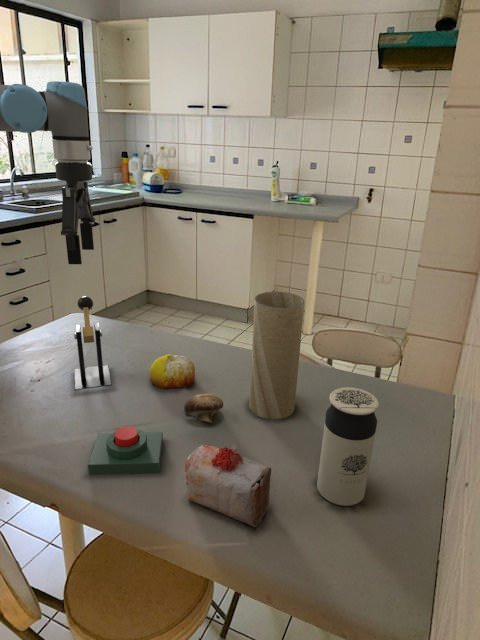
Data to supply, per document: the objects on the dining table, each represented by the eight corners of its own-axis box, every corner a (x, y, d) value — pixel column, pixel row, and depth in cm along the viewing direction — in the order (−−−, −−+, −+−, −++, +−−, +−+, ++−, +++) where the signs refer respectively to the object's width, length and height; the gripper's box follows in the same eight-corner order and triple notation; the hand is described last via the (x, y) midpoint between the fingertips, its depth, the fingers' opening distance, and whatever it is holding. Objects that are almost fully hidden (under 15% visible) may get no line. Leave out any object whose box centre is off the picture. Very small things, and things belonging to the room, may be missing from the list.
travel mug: (315, 471, 83) (326, 384, 76) (360, 476, 82) (375, 388, 75) (318, 504, 76) (330, 411, 69) (367, 509, 75) (384, 415, 68)
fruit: (179, 398, 103) (170, 365, 101) (145, 396, 109) (135, 365, 107) (207, 376, 112) (198, 345, 110) (174, 376, 118) (165, 347, 116)
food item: (177, 502, 75) (176, 452, 71) (203, 472, 82) (203, 426, 78) (253, 535, 69) (257, 483, 66) (274, 500, 76) (278, 451, 72)
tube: (274, 389, 109) (282, 288, 99) (303, 410, 101) (314, 302, 92) (240, 402, 103) (244, 296, 94) (268, 424, 96) (276, 312, 86)
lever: (77, 304, 113) (76, 293, 110) (93, 303, 114) (92, 292, 112) (80, 345, 105) (79, 334, 102) (97, 343, 106) (96, 333, 103)
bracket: (74, 373, 113) (68, 320, 107) (108, 369, 115) (104, 317, 110) (75, 394, 104) (68, 338, 99) (112, 389, 106) (107, 334, 101)
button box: (89, 474, 80) (86, 456, 79) (99, 442, 88) (97, 424, 87) (159, 472, 81) (158, 454, 80) (162, 441, 89) (162, 423, 88)
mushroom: (217, 421, 90) (211, 390, 92) (181, 429, 93) (175, 398, 94) (231, 419, 98) (225, 390, 99) (197, 426, 100) (192, 398, 101)
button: (113, 448, 81) (112, 439, 81) (117, 434, 85) (116, 426, 84) (136, 447, 82) (136, 439, 81) (139, 433, 85) (138, 425, 85)
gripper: (77, 166, 90) (87, 271, 98) (101, 158, 113) (107, 244, 121) (37, 164, 89) (50, 270, 97) (69, 157, 112) (77, 244, 120)
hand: (82, 256), depth 109 cm, fingers open, 13 cm apart
